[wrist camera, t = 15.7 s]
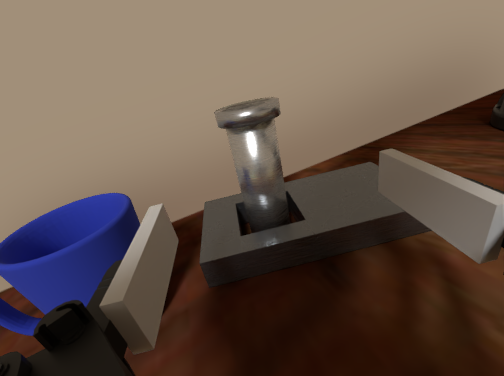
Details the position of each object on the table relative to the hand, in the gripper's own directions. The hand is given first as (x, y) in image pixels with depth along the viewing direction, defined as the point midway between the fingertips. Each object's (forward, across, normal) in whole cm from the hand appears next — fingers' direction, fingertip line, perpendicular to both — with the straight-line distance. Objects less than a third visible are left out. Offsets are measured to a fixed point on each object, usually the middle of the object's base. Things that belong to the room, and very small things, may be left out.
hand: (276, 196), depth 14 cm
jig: (+9, +4, -10) cm, 14 cm away
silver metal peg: (+9, 0, -10) cm, 13 cm away
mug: (+3, -16, -10) cm, 19 cm away
